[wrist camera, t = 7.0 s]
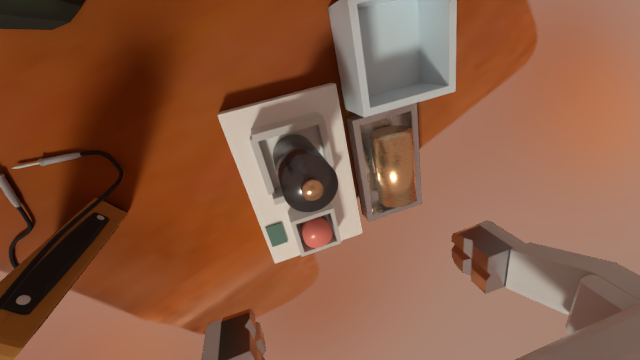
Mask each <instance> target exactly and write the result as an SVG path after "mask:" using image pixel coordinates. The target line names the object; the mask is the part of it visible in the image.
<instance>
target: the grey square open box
mask: <svg viewBox="0 0 640 360" xmlns="http://www.w3.org/2000/svg"><path fill="white" fill-rule="evenodd" d="M328 11H329V17H330V23H331V28H332V34H333V40H334V46H335V52H336V58H337V64H338V70H339V75H340V81H341V87H342V93H343V99H344V105H345V109H346V110H349V111H351V112H353V113H355V114H357V115H360V116H362V117H364V118H365V117H368V116H372V115H375V114H379V113H382V112H386V111H389V110H393V109H396V108H399V107H403V106H406V105H410V104H413V103H417V102H420V101H424V100H427V99H431V98H434V97H438V96H441V95H445V94H448V93H452V92H455V88H456V18H457V0H339V1H337V2H336V3H334V4H333V5H331V6H330V7H328Z"/></svg>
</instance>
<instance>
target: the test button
mask: <svg viewBox="0 0 640 360" xmlns="http://www.w3.org/2000/svg"><path fill="white" fill-rule="evenodd" d="M300 229H301V232H302V235H303V238H304V241H305V243H306V244H307V245H308V246H309V247H312V248H319V247H323V246H325V245H326V244H327V243H328V242H329V241H330V240H331V238H332V234H333V232H332V229H331V227H330V225H329V223H328V221H327V219H326V217H325V216H324V215H323V216H320V217H317V218H314V219H311V220H308V221H305V222H302V223H301V225H300Z"/></svg>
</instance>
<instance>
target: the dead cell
mask: <svg viewBox="0 0 640 360" xmlns="http://www.w3.org/2000/svg"><path fill="white" fill-rule="evenodd" d="M273 161H274V165H275V168H276V172H277V175H278V179H279V182H280V186H281V189H282V193H283V196H284V199H285V200H286V202H287V203H288V205H290V206H291V207H292V208H293V209H295V210H298V211H301V212H314V211H318V210H320V209H322V208H324V207H326V206H327V205H328V204H329V203H330V202H331V201H332V200H333V198H334V197H335V195H336V193H337V190H338V178H337V175H336V173H335V171H334V170H333V168H332V167H331V166H330V165H329V163H328V162H327V161H326V160H325V159H324V157H323V156H322V155H321V154H320V153H319V151H318V150H317V149H316V148H315V147H314V145H313V144H312V143H311V142H310V141H309V140H308V139H307V138H306V137H304V136H302V135H298V134H291V135H287V136H285V137H283V138H281V139H280V140H279V141H278V142H277V143H276V145H275V147H274V149H273Z"/></svg>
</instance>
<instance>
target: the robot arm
mask: <svg viewBox="0 0 640 360" xmlns="http://www.w3.org/2000/svg"><path fill="white" fill-rule="evenodd" d="M452 242H453V243H454V244H455V245H454V247H453V248H452V258H453V260H454V263H455V264H456V266H457V267H458V268H459V269H460V270H461V271H462V272H463V273H465V274H468V275H471V280H472V282H473V283H474V284H475V285H476V286H477V287H478V288H479V289H481V290H482V291H483V292H484V293H485V294H486V293H489V292H491V291H494V290H497V289H500V288H502V287H505V286H506V288H508V289H510V290H512V291H514V292H517V293H519V294H521V295H523V296H525V297H528V298H530V299H532V300H534V301H537V302H539V303H541V304H543V305H546V306H548V307H550V308H552V309H555V310H557V311H559V312H562V313H564V314H566V315H568V320H567V323H566V331H567V332H568V333H569V334H570V335H568V336H566V337H564V338H561V339H560V340H557V341H555V342H553V343H550V344H548V345H546V346H544V347H542V348H540V349H538V350H535V351H533V352H531V353H529V354H526V355H524V356H522V357H520V358H518V359H516V360H640V275H638V274H636V273H634V272H632V271H630V270H628V269H626V268H625V267H623V266H621V265H619V264H617V263H615V262H611V261H607V260H602V259H598V258H594V257H590V256H585V255H581V254H576V253H572V252H568V251H564V250H560V249H556V248H551V247H547V246H543V245H538V244H534V243H527V244H526V243H524V242H523V241H521V240H519V239H518V238H516V237H515V236H513V235H512V234H510V233H508V232H507V231H505V230H504V229H502V228H500V227H499V226H497V225H496V224H494V223H493V222H491V221H484V222H482V223H479V224H477V225H474V226H471V227H468V228H466V229H463V230H461V231H458V232H456V233H453V235H452ZM265 351H266V346H265V339H264V334H263V331H262V328H261V325H260V323H258V322H256V318H255V313H254V311H253V310H252V309H248V310H245V311H242V312H239V313H236V314H233V315H230V316H228V317H225V318H222V319H220V320H217V321H214V322H211V323H209V324H208V326H207V328H206V333H205V340H204V346H203V353H202V359H201V360H265V359H264V357H263V355H264V353H265Z"/></svg>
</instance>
